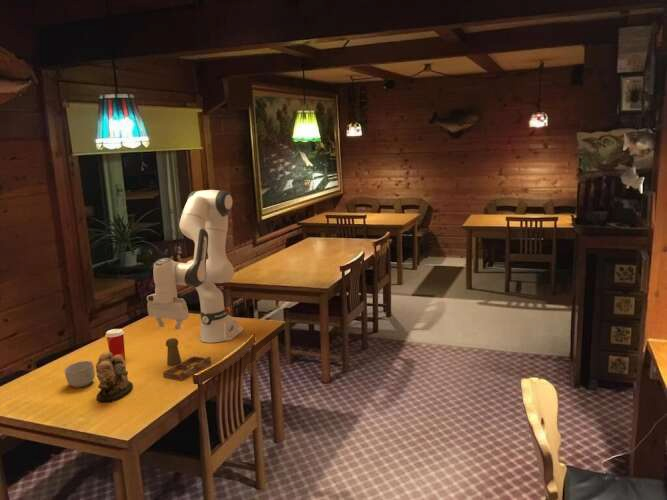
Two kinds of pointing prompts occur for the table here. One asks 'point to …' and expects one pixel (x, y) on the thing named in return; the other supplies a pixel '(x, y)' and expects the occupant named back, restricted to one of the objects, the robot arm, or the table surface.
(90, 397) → the table surface
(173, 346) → the cork
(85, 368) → the teacup
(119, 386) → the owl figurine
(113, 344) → the paper cup
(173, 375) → the wooden divided frame
